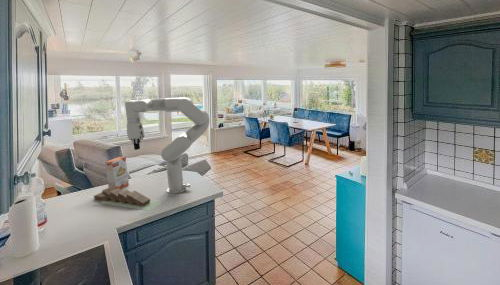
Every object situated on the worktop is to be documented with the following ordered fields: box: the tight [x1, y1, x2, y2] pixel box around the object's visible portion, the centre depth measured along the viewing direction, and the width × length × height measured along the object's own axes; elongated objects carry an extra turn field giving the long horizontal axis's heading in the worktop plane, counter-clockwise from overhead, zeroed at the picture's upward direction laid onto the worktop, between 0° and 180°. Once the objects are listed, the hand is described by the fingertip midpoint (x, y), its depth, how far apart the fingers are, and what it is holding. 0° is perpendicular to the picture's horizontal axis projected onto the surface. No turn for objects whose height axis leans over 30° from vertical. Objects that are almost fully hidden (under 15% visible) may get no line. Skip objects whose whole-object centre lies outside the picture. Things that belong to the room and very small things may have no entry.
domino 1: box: [93, 191, 111, 202], centre depth 173 cm, size 2×6×12 cm
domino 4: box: [118, 188, 137, 205], centre depth 165 cm, size 2×6×12 cm
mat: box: [99, 199, 164, 212], centre depth 166 cm, size 38×12×1 cm, turn 68°
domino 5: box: [126, 189, 151, 207], centre depth 163 cm, size 2×6×12 cm
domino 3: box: [110, 188, 128, 204], centre depth 168 cm, size 2×6×12 cm
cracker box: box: [105, 156, 130, 190], centre depth 190 cm, size 14×6×21 cm, turn 168°
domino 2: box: [101, 187, 119, 202], centre depth 170 cm, size 2×6×12 cm
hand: (137, 149), depth 177 cm, fingers closed
